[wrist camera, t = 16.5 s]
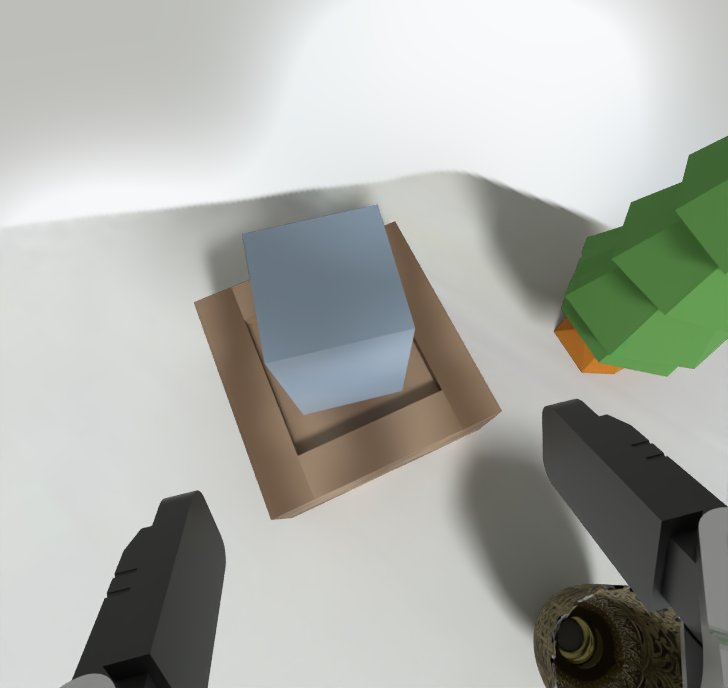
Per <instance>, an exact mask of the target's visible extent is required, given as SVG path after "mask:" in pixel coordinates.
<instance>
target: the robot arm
mask: <svg viewBox="0 0 728 688" xmlns="http://www.w3.org/2000/svg"><path fill="white" fill-rule="evenodd" d="M542 430H543V462H544V466H545V470H546V473H547V475H548V477H549V479H550V481H551V483H552V484H553V486H554V487H555V489H556V490H557V491H558V493H559V494H560V495H561V497H562V498H563V499H564V500H565V502H566V503H567V504H568V506H569V507H570V508H571V510H572V511H573V512H574V514H575V515H576V516H577V518H578V519H579V520H580V522H581V523H582V524H583V526H584V527H585V528H586V530H587V531H588V532H589V533H590V535H591V536H592V537H593V539H594V540H595V541H596V543H597V544H598V545H599V547H600V548H601V549H602V551H603V552H604V553H605V555H606V556H607V557H608V559H609V560H610V561H611V563H612V564H613V565H614V566H615V568H616V569H617V570H618V572H619V573H620V574H621V576H622V577H623V578H624V580H625V581H626V582H627V584H628V585H629V586H630V588H631V589H632V590H633V592H634V593H635V594H636V596H637V597H638V598H639V599H640V601H641V602H642V603H643V605H644V606H645V607H646V609H647V610H648V611H649V613H650V612H654V611H657V610H661V609H665V608H668V607H672V609H673V610H674V611H675V612H676V614H677V615H678V616H679V617H680V618H681V624H680V641H681V662H682V683H683V688H728V506H726V505H725V504H724V503H723V502H721V501H720V500H719V499H718V498H717V497H715V496H714V495H713V494H712V493H711V492H710V491H708V490H707V489H706V488H705V487H704V486H702V485H701V484H700V483H699V482H698V481H696V480H695V479H694V478H693V477H692V476H691V475H689V474H688V473H687V472H686V471H685V470H683V469H682V468H681V467H680V466H679V465H677V464H676V463H675V462H674V461H673V460H672V459H670V458H669V457H668V456H667V457H665V455H664V453H663V452H662V451H661V450H660V449H659V448H657V447H656V446H655V445H654V444H653V443H652V444H650V443H649V440H648V439H647V438H645V437H644V436H643V435H642V434H641V433H640V432H638V431H637V430H636V429H635V428H634V427H632V426H631V425H629V424H627V423H625V422H623V421H620V420H618V419H616V418H614V417H612V416H609V415H603V416H598V415H597V414H596V413H595V412H594V411H592V410H591V409H590V408H589V407H588V406H587V405H586V404H585V403H584V402H582V401H581V400H579V399H573V400H569V401H565V402H561V403H557V404H553V405H549V406H545V407H544V409H543V412H542ZM225 566H226V556H225V548H224V543H223V540H222V537H221V535H220V532H219V530H218V528H217V526H216V523H215V521H214V519H213V517H212V514H211V512H210V510H209V508H208V505H207V503H206V501H205V499H204V496H203V495H202V493H201V492H200V491H193V492H189V493H185V494H181V495H177V496H173V497H169V498H165V499H163V500H162V501H161V503H160V505H159V508H158V511H157V514H156V516H155V519H154V522H153V525H152V526H150V527H146V528H142V529H141V530H140V531H139V532H138V533H137V535H136V536H135V537H134V539H133V540H132V541H131V542H130V544H129V545H128V546H127V547H126V549H125V550H124V551H123V554H122V556H121V559H120V561H119V564H118V566H117V569H116V571H115V578H113V579H112V581H111V584H110V586H109V589H108V591H107V598H105V599H104V601H103V604H102V606H101V609H100V611H99V614H98V616H97V619H96V621H95V624H94V626H93V629H92V631H91V634H90V636H89V639H88V641H87V644H86V646H85V649H84V651H83V654H82V656H81V659H80V661H79V664H78V666H77V669H76V671H75V674H74V676H73V678H72V680H71V681H70V682H68V683H66V684H65V685H63V686H62V687H60V688H208V681H209V674H210V667H211V661H212V654H213V647H214V641H215V634H216V627H217V620H218V614H219V607H220V600H221V594H222V587H223V580H224V573H225Z"/></svg>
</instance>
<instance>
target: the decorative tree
mask: <svg viewBox="0 0 728 688" xmlns="http://www.w3.org/2000/svg"><path fill="white" fill-rule="evenodd" d="M582 255H583V258H580V259H579V262H578V265H577V268H576V270H575V273H574V276H573V278H572V280H571V281H570V284H569V286H568V289H567V292H566V294H565V300H564V303H563V305H562V308H561V309H562V311H563V312H564V314H565V315H566V316H567V317H566V318H565V319H564V321H563V322H562V323H561V324H560V325H559V327H558V328H557V329H556V330H555V331H554V332H555V333H556V335H557V336H558V338H559V339H560V341H561V342H562V344H563V345H564V347H565V348H566V350H567V351H568V353H569V354H570V356H571V357H572V359H573V360H574V362H575V363H576V365H577V366H578V368H579V369H580V371H581V372H583V373H604V374H615V373H616V372H618V371H620V370H621V369H623V368H627V369H632V370H637V371H642V372H647V373H652V374H657V375H662V376H668V375H669V374H670V373H672V372H673V371H674V370H675V369H676V368H677V367H678V366H679V367H686V368H692V369H695V368H696V367H697V366H698V365H699V364H700V363H701V362H702V361H703V360H705V359H706V358H707V357H708V356H709V355H710V354H711V353H712V352H713V351H714V350H716V349H717V348H718V347H719V346H720V345H721V344H722V343H723V342H724V341H726V340H727V339H728V136H727V137H725V138H723V139H721V140H719V141H717V142H715V143H713V144H711V145H709V146H707V147H705V148H703V149H700V150H699V151H697V152H694V153H692V154H690V155H689V158H688V162H687V165H686V169H685V173H684V177H683V181H682V182H681V183H679V184H676V185H674V186H671V187H669V188H666V189H663V190H661V191H658V192H656V193H653V194H651V195H648V196H646V197H643V198H641V199H638V200H636V201H633V202H631V204H630V207H629V210H628V213H627V216H626V219H625V222H624V225H623V226H622V227H619V228H616V229H612V230H609V231H606V232H603V233H600V234H597V235H594V236H591V237H588V238H587V239H586V242H585V245H584V247H583V250H582Z"/></svg>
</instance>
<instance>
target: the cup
mask: <svg viewBox="0 0 728 688" xmlns="http://www.w3.org/2000/svg"><path fill="white" fill-rule="evenodd" d="M678 617H679V616H678V615H677V614H676V612H675V611H674V610H673V609H672V607H668V608H665V609H661V610H657V611H654V612H650V613H649V611H648V610H647V609H646V607H645V606H644V605H643V603H642V602H641V601H640V599H639V598H638V597H637V596H636V594H635V593H634V592H633V590H632V589H631V588H630V586H627V585H605V584H583V585H576V586H572V587H568V588H566V589H564V590H561V591H560V592H558V593H556V594H555V595H554V596H552V597H551V598H550V599H549V600H548V601H547V602H546V604H545V605H544V606H543V608H542V609H541V611H540V613H539V615H538V618H537V621H536V624H535V629H534V653H535V658H536V663H537V666H538V670H539V672H540V675H541V677H542V680H543V682H544V684H545V686H546V688H683V683H682V662H681V641H680V624H681V619H680V618H678ZM565 620H572V621H574V622H575V623H576V624H577V625H578V626H579V627H580V629H581V631H582V634H583V641H582V644H581V646H580V647H579V648H578V649H577V650H574V651H568V650H565V649H564V648H562V647H561V646H560V645H559V643H558V641H557V636H558V631H559V628H560V626H561V625H562V623H563V622H564V621H565Z"/></svg>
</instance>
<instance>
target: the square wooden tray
mask: <svg viewBox="0 0 728 688" xmlns="http://www.w3.org/2000/svg"><path fill="white" fill-rule="evenodd" d="M384 227H385V230H386V233H387V237H388V240H389V243H390V247H391V250H392V253H393V256H394V260H395V263H396V266H397V270H398V273H399V276H400V280H401V283H402V286H403V289H404V293H405V296H406V299H407V303H408V306H409V309H410V313H411V316H412V319H413V322H414V326H415V332H414V337H413V341H412V346H411V351H410V356H409V360H408V365H407V370H406V375H405V380H404V384H403V389H402V391H400V392H396V393H392V394H388V395H384V396H380V397H375V398H371V399H367V400H363V401H359V402H355V403H351V404H347V405H343V406H339V407H334V408H330V409H326V410H322V411H318V412H314V413H310V414H306V415H303V414H302V412H301V411H300V410H299V408H298V407H297V406H296V404H295V403H294V402H293V400H292V399H291V398H290V396H289V395H288V394H287V392H286V391H285V390H284V388H283V387H282V386H281V385H280V383H279V382H278V381H277V379H276V378H275V377H274V375H273V374H272V373H271V371H270V370H269V369H268V367H267V366H266V365H265V363H264V357H263V351H262V345H261V340H260V334H259V328H258V323H257V317H256V311H255V305H254V300H253V294H252V288H251V283H250V280H248V281H246V282H243V283H241V284H238V285H236V286H233V287H231V288H228V289H226V290H223V291H221V292H218V293H216V294H213V295H211V296H208V297H206V298H203V299H201V300H198V301H196V302H194V304H195V307H196V310H197V313H198V316H199V319H200V321H201V324H202V327H203V330H204V333H205V335H206V338H207V341H208V344H209V347H210V349H211V352H212V355H213V358H214V361H215V363H216V366H217V369H218V372H219V375H220V378H221V380H222V383H223V386H224V389H225V392H226V394H227V397H228V400H229V403H230V406H231V408H232V411H233V414H234V417H235V420H236V422H237V425H238V428H239V431H240V434H241V437H242V439H243V442H244V445H245V448H246V451H247V453H248V456H249V459H250V462H251V465H252V467H253V470H254V473H255V476H256V479H257V481H258V484H259V487H260V490H261V493H262V496H263V498H264V501H265V504H266V507H267V510H268V512H269V515H270V518H271V520H275V519H286V518H293V517H295V516H297V515H299V514H301V513H303V512H306V511H308V510H310V509H312V508H314V507H316V506H318V505H320V504H322V503H325V502H327V501H329V500H331V499H333V498H335V497H337V496H339V495H342V494H344V493H346V492H348V491H350V490H352V489H354V488H356V487H358V486H361V485H363V484H365V483H367V482H369V481H371V480H373V479H375V478H377V477H380V476H382V475H384V474H386V473H388V472H390V471H392V470H394V469H396V468H399V467H401V466H403V465H405V464H407V463H409V462H411V461H413V460H416V459H418V458H420V457H422V456H424V455H426V454H428V453H430V452H432V451H435V450H437V449H439V448H441V447H443V446H445V445H447V444H449V443H451V442H454V441H456V440H458V439H460V438H462V437H464V436H466V435H468V434H470V433H473V432H475V431H477V430H479V429H480V428H481V427H482V426H484V425H485V424H486V423H488V422H489V421H490V420H491V419H493V418H494V417H495V416H496V415H498V414H499V413H500V412H502V410H501V409H500V407H499V405H498V403H497V401H496V400H495V398H494V396H493V394H492V393H491V391H490V389H489V387H488V385H487V384H486V382H485V380H484V378H483V377H482V375H481V373H480V371H479V369H478V368H477V366H476V364H475V362H474V361H473V359H472V357H471V355H470V354H469V352H468V350H467V348H466V346H465V345H464V343H463V341H462V339H461V338H460V336H459V334H458V332H457V330H456V329H455V327H454V325H453V323H452V322H451V320H450V318H449V316H448V314H447V313H446V311H445V309H444V307H443V306H442V304H441V302H440V300H439V299H438V297H437V295H436V293H435V291H434V290H433V288H432V286H431V284H430V283H429V281H428V279H427V277H426V275H425V274H424V272H423V270H422V268H421V267H420V265H419V263H418V261H417V259H416V258H415V256H414V254H413V252H412V251H411V249H410V247H409V245H408V243H407V242H406V240H405V238H404V236H403V235H402V233H401V231H400V229H399V228H398V226H397V224H396V222H392V223H390V224H387V225H385V226H384Z"/></svg>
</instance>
